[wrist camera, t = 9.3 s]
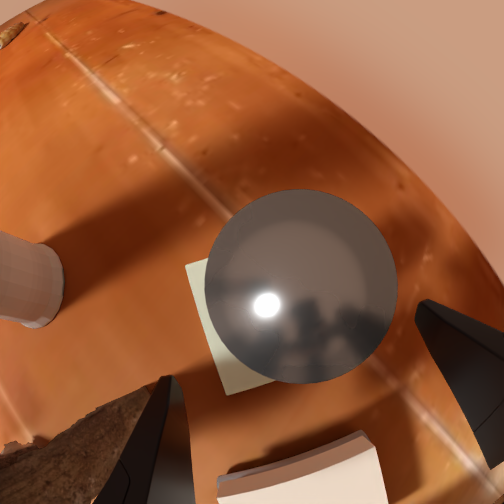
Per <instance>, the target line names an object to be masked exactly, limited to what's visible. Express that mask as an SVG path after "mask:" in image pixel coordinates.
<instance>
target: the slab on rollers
mask: <svg viewBox="0 0 504 504" xmlns="http://www.w3.org/2000/svg"><path fill="white" fill-rule="evenodd" d="M217 488H218V493H217V500H218V502H219V504H388V500H387V495H386V490H385V486H384V481H383V477H382V473H381V468H380V464H379V460H378V456H377V452H376V448H375V446H374V445H373V444H372V443H371V442H370V440H369V438H368V436H367V435H366V434H365V433H364V431H362V430H358V431H356V432H354V433H352V434H350V435H347V436H345V437H343V438H340V439H338V440H336V441H333V442H331V443H328V444H326V445H323V446H321V447H318V448H316V449H313V450H310V451H307V452H305V453H302V454H299V455H296V456H293V457H290V458H287V459H284V460H281V461H277V462H274V463H271V464H267V465H263V466H260V467H256V468H252V469H248V470H244V471H240V472H235V473H231V474H226V475H221V476H218V478H217Z"/></svg>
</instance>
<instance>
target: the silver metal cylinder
mask: <svg viewBox="0 0 504 504" xmlns="http://www.w3.org/2000/svg"><path fill="white" fill-rule="evenodd" d="M397 290H398V283H397V273H396V268H395V263H394V259H393V257H392V254H391V251H390V248H389V246H388V244H387V242H386V240H385V238H384V237H383V235H382V234H381V232H380V231H379V229H378V228H377V227H376V226H375V224H374V223H373V222H372V221H371V220H370V219H369V218H368V217H367V216H366V215H365V214H364V213H363V212H362V211H360V210H359V209H358V208H356V207H355V206H353V205H352V204H350V203H349V202H347V201H345V200H343V199H341V198H339V197H336V196H334V195H331V194H328V193H324V192H321V191H315V190H308V189H293V190H284V191H279V192H275V193H271V194H268V195H266V196H263V197H261V198H259V199H257V200H255V201H253V202H251V203H249V204H248V205H246V206H245V207H244V208H242V209H241V210H240V211H238V212H237V213H236V214H235V215H234V216H233V217H232V218H231V219H230V220H229V221H228V222H227V224H226V225H225V226H224V227H223V229H222V230H221V232H220V233H219V235H218V237H217V238H216V240H215V242H214V244H213V247H212V249H211V251H210V254H209V258H208V261H207V265H206V271H205V284H204V291H205V299H206V306H207V309H208V313H209V317H210V319H211V322H212V324H213V327H214V329H215V331H216V332H217V334H218V336H219V338H220V339H221V341H222V342H223V344H224V345H225V346H226V347H227V349H228V350H229V351H230V352H231V353H232V354H233V355H234V356H235V357H236V358H237V359H238V360H239V361H240V362H242V363H243V364H244V365H246V366H247V367H249V368H250V369H251V370H253V371H255V372H257V373H259V374H261V375H263V376H265V377H268V378H271V379H274V380H277V381H282V382H287V383H296V384H309V383H318V382H323V381H327V380H331V379H333V378H336V377H339V376H341V375H343V374H345V373H347V372H349V371H351V370H353V369H354V368H355V367H357V366H358V365H360V364H361V363H362V362H364V361H365V360H366V359H367V358H368V357H369V356H370V355H371V354H372V353H373V352H374V350H375V349H376V348H377V347H378V345H379V344H380V343H381V341H382V340H383V338H384V336H385V335H386V333H387V331H388V329H389V326H390V324H391V322H392V319H393V315H394V312H395V308H396V302H397Z"/></svg>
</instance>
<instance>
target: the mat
mask: <svg viewBox="0 0 504 504" xmlns="http://www.w3.org/2000/svg"><path fill="white" fill-rule="evenodd" d="M207 261H208V258H207V259H203V260H200V261H197V262H194V263H191V264H188V265H185V268H186V271H187V275H188V279H189V282H190V286H191V289H192V292H193V296H194V299H195V302H196V306H197V309H198V312H199V316H200V319H201V322H202V325H203V328H204V332H205V335H206V338H207V341H208V344H209V347H210V350H211V353H212V356H213V359H214V362H215V365H216V367H217V370H218V373H219V376H220V379H221V382H222V384H223V387H224V390H225V393H226V395H231V394H234V393H238V392H241V391H245V390H248V389H251V388H254V387H258V386H261V385H264V384H267V383H270V382H273V381H276V380H274V379H271V378H268V377H265V376H263V375H261V374H259V373H257V372H255V371H253V370H251V369H250V368H249V367H247V366H246V365H244V364H243V363H242V362H240V361H239V360H238V359H237V358H236V357H235V356H234V355H233V354H232V353H231V352H230V351H229V350H228V349H227V347H226V346H225V345H224V344H223V342H222V341H221V339H220V338H219V336H218V334H217V332H216V331H215V329H214V327H213V324H212V322H211V319H210V317H209V313H208V309H207V306H206V299H205V291H204V284H205V271H206V265H207Z"/></svg>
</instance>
